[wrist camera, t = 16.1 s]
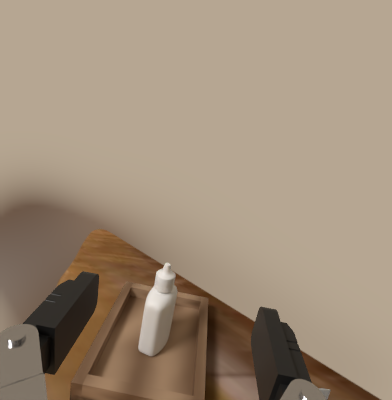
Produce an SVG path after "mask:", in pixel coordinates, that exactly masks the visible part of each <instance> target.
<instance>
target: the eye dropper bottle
mask: <svg viewBox="0 0 392 400" xmlns="http://www.w3.org/2000/svg"><path fill="white" fill-rule="evenodd" d="M175 276H176V275H175V273H174V272H173V271H172V270H171V264H170V263H165V265H164V268H163V269H160V270H158V271H157V273H156V278H155V284H154V287H153V288H152V289H151V290H150V292H149V294H148V296H147V298H146V302H145V307H144V313H143V319H142V326H141V332H140V338H139V345H138V349H139V351H140V352H142V353H144V354H146V355H148V356H154V355H156V354H157V353H159V352H160V351H161V350H162V349H163V348H164V346H165V345H166V343H167V341H168V338H169V333H170V328H171V323H172V318H173V313H174V308H175V303H176V297H177V288H176V286H175V285H174V281H175Z"/></svg>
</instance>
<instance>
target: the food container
mask: <svg viewBox="0 0 392 400" xmlns="http://www.w3.org/2000/svg"><path fill="white" fill-rule="evenodd" d="M319 390H320V391H321V392H322V393H323V394H324V396H325V398H326V400H327V399H328V396H329V393H330V389H322V388H320V389H319Z"/></svg>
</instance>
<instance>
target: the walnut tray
mask: <svg viewBox="0 0 392 400" xmlns="http://www.w3.org/2000/svg"><path fill="white" fill-rule="evenodd" d="M152 288H153V287H151V286H146V285H141V284H136V283H131V282H126V283H125V285H124V286H123V288H122V290H121V292H120V294H119V296H118V297H117V299H116V301H115V303H114V305H113V307H112V308H111V310H110V312H109V314H108V316H107V318H106V319H105V321H104V323H103V325H102V327H101V329H100V330H99V332H98V334H97V336H96V338H95V339H94V341H93V343H92V345H91V347H90V349H89V350H88V352H87V354H86V356H85V358H84V360H83V361H82V363H81V365H80V367H79V369H78V371H77V372H76V374H75V376H74V378H73V380H72V381H71V391H70V400H205V375H206V348H207V320H208V298H205V297H200V296H195V295H190V294H185V293H180V292H177V297H176V303H175V308H174V313H173V318H172V323H171V328H170V333H169V338H168V341H167V343H166V345H165V346H164V348H163V349H162V350H161V351H160V352H159V353H157V354H156V355H154V356H148V355H146V354H144V353H142V352H140V351H139V349H138V345H139V338H140V332H141V326H142V319H143V313H144V307H145V302H146V298H147V296H148V294H149V292H150V290H151V289H152Z"/></svg>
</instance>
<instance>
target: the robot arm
mask: <svg viewBox="0 0 392 400" xmlns="http://www.w3.org/2000/svg"><path fill="white" fill-rule="evenodd" d="M98 285H99V275H98V274H94V273H89V272H84V271H83V272H81V273H80V275H79V276H78V277H77V278H76V279H75V280H74V281H73V280H67V281H66V282H64V283H62V284H60V285H58V286H57V288H56V289H55V290H54V291H53V292H52V294H50V295H49V296H48V297H47V298H46V300H45V301H44V302H43V303H42V304H41V305H40V306H39V307H38V308H37V309H36V310H35V311H34V312H33V313H32V314H31V315H30V316H29V317H28V318H27V320H26V321H25V322H24V323H23V324H19V325H15V326H12V327H9V328H7V329H5V330H4V331H2V332H1V333H0V400H47V392H46V384H45V376H44V374H45V373H48V374H53V375H55V373H56V372H57V370H58V368H59V367H60V365H61V364H62V362H63V360H64V359H65V357H66V356H67V354H68V353H69V351H70V349H71V348H72V346H73V345H74V343H75V341H76V340H77V338H78V337H79V335H80V333H81V332H82V330H83V329H84V327H85V325H86V324H87V322H88V321H89V319H90V318H91V316H92V314H93V313H94V310H95V308H96V305H97V299H98ZM251 347H252V354H253V360H254V367H255V374H256V381H257V387H258V394H259V400H326V398H325V396H324V394H323V393H322V392H321V391H320V390H319V389H318V388H317V387H316V386H315V385H314V384H312V382H311V379H310V377H309V374H308V371H307V368H306V365H305V362H304V360H303V357H302V354H301V352H300V348H299V346H298V344H297V340H296V337H295V334H294V332H293V331H292V329H291V328H290V327H289V326H288V324H287V323H283V322H280V319H279V315H278V312H277V310H275V309H269V308H265V307H260V308H259V311H258V314H257V317H256V321H255V324H254V327H253V331H252V336H251Z"/></svg>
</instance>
